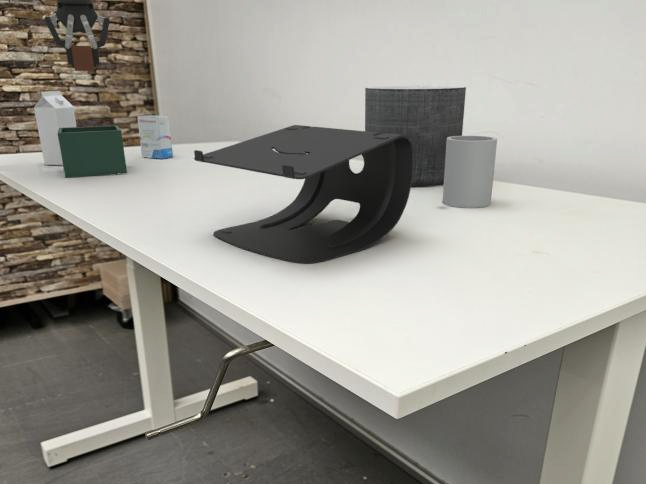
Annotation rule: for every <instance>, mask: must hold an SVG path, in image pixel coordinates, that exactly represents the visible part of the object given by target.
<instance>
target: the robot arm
mask: <svg viewBox="0 0 646 484" xmlns="http://www.w3.org/2000/svg"><path fill="white" fill-rule="evenodd" d="M55 1H56V10H55V14H52V15H49V16H47V15H46V16H44V17H43V20H44V22H45V24H46V26H47V28H48V30H49V32H50V34H51V36H52V38H53V40H54V42H55V45H57V46H58V47H61V48H64V50H65V52H66V60H67V63H68V65H69V66H70V65H71V68H72V69H75V67H74V60H73V54H72V47H71V46H72V45H73V44H72V43H73V37H74V35H73V34H77V33H81V34H86V36H87V39H88V41H89V43H90V46H91V49H92V56H93V64H94V69H95V68H98V65H100V55H99V49H100V48H102V47H105V46H106V43H107V37H108V33H109V27H110V22H111V20H110V18H109V17H107V16H106V17H104V16H102V15H98V13H97V11H96V10H95V5H94V0H55ZM57 20H58V21H59V22H60V23H61V24H62V26H64V28H65V30H66V31H65V40H62V39H61V37H60V35H59V33H58V32H57V29H56V27H57V25H58V23H57ZM96 22H98V25H99V27H101V34H100V38H99V40H97V41H96V39H95V36H94V33H93V31H92V29H93V28H94V25H95V23H96Z"/></svg>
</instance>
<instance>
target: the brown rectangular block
mask: <svg viewBox="0 0 646 484" xmlns="http://www.w3.org/2000/svg"><path fill="white" fill-rule="evenodd" d="M71 47H72V54H73V60H74V67H75V68H74V71H75V72H95V68H94V64H93V56H92V46H91V45H71Z"/></svg>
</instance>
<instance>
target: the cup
mask: <svg viewBox="0 0 646 484" xmlns="http://www.w3.org/2000/svg"><path fill="white" fill-rule="evenodd" d="M497 145H498V137H494V136H487V135H462V136H452V137H447V143H446V158H445V172H444V184H443V188H442V204H443V205H446V206H450V207H454V208H455V207H456V208H464V209H465V208H466V209H477V208H485V207H489V206H490V205H491V204H492V196H493V195H492V194H493V186H494V185H493V183H494V174H495V165H496V164H495V163H496V156H497V155H496V154H497Z"/></svg>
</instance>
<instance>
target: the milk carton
mask: <svg viewBox="0 0 646 484" xmlns="http://www.w3.org/2000/svg"><path fill="white" fill-rule="evenodd" d="M40 93H41V96H40V98H39V100H38V101H37V103H36V104H35V106H34V107H33V111H34V115H35V116H34V117H35V120H36V126H37V132H38V136H39V137H38V138H39V141H40V142H39V143H40V148H41V153H42V157H43V163H44V165H47V166H63V162H62V156H61V150H60V145H59V139H58V130H59V128H69V127H78V126H77V121H76V114H75V109H74V108H75V107H74V105H73V104H71V103H70V102H69V101H68V100H67V99H66V98H65V97H64V96H63V95H62V91H61V90H51V91H40Z"/></svg>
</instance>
